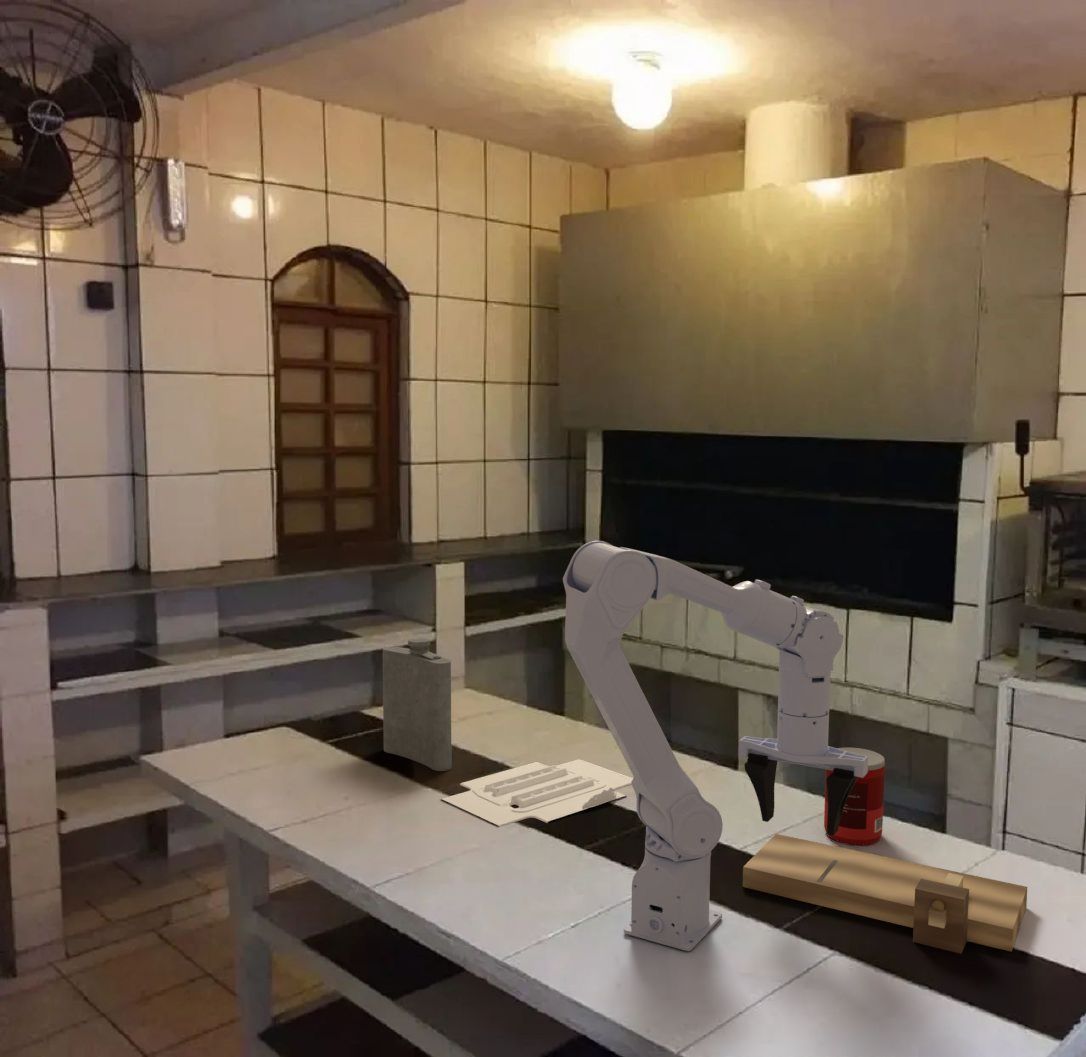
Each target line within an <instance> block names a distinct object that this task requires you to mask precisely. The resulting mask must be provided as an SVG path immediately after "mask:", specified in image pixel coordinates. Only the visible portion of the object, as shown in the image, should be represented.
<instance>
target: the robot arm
mask: <svg viewBox="0 0 1086 1057" xmlns="http://www.w3.org/2000/svg"><path fill="white" fill-rule="evenodd" d="M562 582H563V586H564V590H565V595H566V597H565V602H566V603H565V622H564V623H565V624H564V625H565V626H564V641H565V642H564V643H565V644H566V648H567V650H568V652H569V654H570V656H571V657H572V659H573V662H574V664H575V665H576V667H577V670H578V672H579V673H580V675H581V678H582V679H583V680H584V682H585V685H586V687H587V689H588V691H589V693H590V695H591V696H592V699H593V701H594V702H595V704H596V706H597V709H598V710H599V712H600V714H601V716H602V718H603V719H604V722H605V723H606V726H607V728H608V730H609V731H610V733H611V735H612V737H613V739H614V741H615V743H616V745H617V747H618V749H619V751H620V753H621V754H622V756H623V759H624V761H625V763H626V764H627V767H628V769H629V771H630V772H631V774H632V776H633V777H632V778H633V780H632V781H631V784H632V785H631V786H632V788H633V790H634V792H635V799H636V804H635V805H636V807H635V808H636V812H637V816H638V819H640V821H641V822H642V823H643V825H645V840H644V845H645V846H644V857H643V861H642V863H641V865H640V867H639V868H638V869H637V870H636V872H635V873H634V875H633V878H632V882H631V913H630V914H631V917H630V918H631V921H630V922H629V923H628V924H627V925H626V926H625V927H624V928H623V933H624V934H626V935H628V936H633V937H635V938H640V939H643V940H646V941H650V942H653V943H656V944H659V945H660V944H661V945H664V946H669V947H670V948H674V949H678V950H682V951H685V952H690V951H692V950H693V949H694V948H695V947H696V946H697V945H698V944H699V943H700V942H701V941H702V939H703V938H704V937H705V936H706V935H707V934H708V933H709V932H710V931H711V930H712V929H713V927H715V925H717V924H718V922H719V921H720V920H721V919H722V918H723V914H722V912H721V911H716V910H712V909H710V896H711V895H710V890H711V889H710V887H711V884H710V883H711V856H712V850H713V849H715V847H716V846H717V844H718V843H719V841H720V840H721V837H722V833H723V827H724V826H723V819H722V815H721V813H720V811H719V810H718V808H717V807H716V806H715V805H713V804H712V803H710V802H709V801H707V800H706V799H704V797H703V796H702V794H701V793H700V790H699V788H698V787H697V785H696V784H695V783H694V782H693V781H692V779H691V777H689V774H687V773H686V771H684V769H683V767H682V766H681V764H679V761H678V759H677V758H676V756H675V754H674V751H673V749H672V747H671V746H670V743H669V742H668V739H667V737H666V736H665V733H664V731H663V730H662V727H661V726H660V724H659V721H658V720H657V718H656V716H655V714H654V712H653V710H652V707H651V705H650V704H649V702H648V700H647V698H646V695H645V694H644V692H643V689H642V688H641V685H640V683H639V682H638V680H637V678H636V675H635V674H634V672H633V670H632V667H631V665H630V664H629V662H628V660H627V658H626V656H625V654H624V652H623V650H622V647H621V645H620V643H621V640H622V638H623V636H624V633H625V631H626V630H627V628H628V627H629V626H630V625H631V623H632V622H633V621H634V620H635V618H636V617H637V616H638V615H639V613H641V611H642V610H643V608H644V607H645V606H646V605H647V604H648V602H649V601H650V599H651V600H654V601H660V600H662V599H663V598H665V597H667V596H669V595H673V596H676V597H678V598H681V599H684V600H686V601H690V602H691V603H695V604H697V605H700V606H703V607H706V608H708V609H710V610H714V611H717V612H719V613H721V616H722V619H723V621H724V624H725V625H726V627H727V629H729V630H732V631H734V632H736V633H739V634H741V635H743V636H746V637H749V638H751V639H754V640H757V641H758V642H759V641H760V642H761V643H763V644H766V645H769V646H772V647H774V648H776V649H777V650H778V652H779V658H778V661H779V663H778V695H777V696H778V698H777V725H776V726H777V727H776V728H777V729H776V730H777V731H776V738H770V737H769V738H768V737H767V738H766V737H755V736H748V735H746V736H745V735H744V736H743V737H742V738H740V739H739V741H738V743H739V744H738V756H739V757H743V758H747V760H746V762H745V763H744V766H743V767H744V771H745V773H746V775H747V777H748V778H749V780H750V783H751V784H752V787H753V789H754V791H755V792H754V793H755V795H756V797H757V801H758V805H759V809H760V814H761V815H760V816H761V819H762V822H766V823H768V822H769V821H771V820H772V818H773V817H774V816H775V815H774V814H775V783H776V775H777V767H778V762H783V763H789V764H793V765H794V764H795V765H801V766H804V767H805V766H806V767H810V768H811V767H812V768H817V769H823V770H826V769H828V770H833V773H832V774H830V775H829V776H828V777H827V780H826V782H827V790H828V820H827V834H828V835H834V834H835V833H836V832H837V831H838V828H839V822H840V818H841V814H842V811H843V808H844V805H845V803H846V800H847V798H848V796H849V794H850V791H851V790H852V788H853V786H854V784H855V782H856V780H857V779H858V777H862V778H863V777H864V776H865V775H866V774H867V773H868V756H863V755H858V754H854V753H851V752H847V751H844V750H840V749H837V747H833V746H829V727H830V725H829V724H830V723H829V722H830V697H831V696H830V695H831V694H830V693H831V672H833V670H834V669H833V668H834V660H835V657H836V656H837V654H838V653H839V651H840V650H841V647H842V645H843V642H844V634H842V633H840V628H839V624H838V622H837V620H834V619H835V617H834V616H832V615H831V614H830V613H828V612H826V611H825V610H824V611H823V610H820V609H817V608H813V607H811V606H810V607H809V606H807V605H804V599H803V598H800V597H798V596H796V595H792V596H790V597H789V596H788V597H787V596H785V595H783V594H782V593H778V592H776V591H773V590H771V586H772V585H771V584H770V583H768V582H766V581H764V580H760V579H755V580H754V582H753V581H749V580H746V581H742V582H739V583H737V584H735V585H734V586H731V585H729V584H726V583H724V582H722V581H721V580H718V579H715V578H713V577H711V576H709V575H707V574H704V573H702V572H701V571H698V570H696V569H693V568H691V567H689V566H687V565H685V564H683V563H681V562H678V561H676V560H675V559H671V558H668V557H665V556H660V555H658V554H654V553H649V552H645V551H641V550H637V549H633V548H628V547H623V546H620V547H617V546H614V545H612V544H611V543H609V542H606V541H603V540H593V541H589V542H586V543H585V544H583V545H581V546H580V547H579V548H578V549H577V550H576V551H575V552H574V553H573V556H571V559H570V562H569V564H568V566H567V568H566V570H565V573H564V575H563V577H562ZM827 834H826V835H827ZM828 835H827V836H828Z"/></svg>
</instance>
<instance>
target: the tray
mask: <svg viewBox="0 0 1086 1057" xmlns="http://www.w3.org/2000/svg"><path fill="white" fill-rule="evenodd" d="M633 778H634V777H631V776H627V775H624V774H621V773H619V772H617V771H613V770H611V769H608V768H605V767H603V766H600V765H596V764H594V763H591V762H590V761H585V760H583V759H574V760H572V761H568V762H565V763H561V764H557V765H555V764H552V765H546V764H543V763H540V762H538V761H535V762H532V763H529V764H524V765H521V766H517V767H513V768H510V769H507V770H503V771H499V772H496V773H491V774H489V775H485V776H482V777H477V778H475V779H472V780H467V781H464V782H461V783H459V786H461V787H464V788H466V789H468V790H467V791H464V792H461V793H455V794H454V795H450V796H446V797H443V798H441V799H440V801H442V800H443V801H445V802H448V803H449V804H451V805H454V806H456V807H457V808H460V809H462V810H464V811H467V812H469V813H471V814H473V815H475V816H477V817H480V818H481V819H483V820H486V821H488V822H489V823H493V825H496V826H498V828H500V827H504V826H508V825H510V824H513V823H516V822H519V821H522V820H525V819H530V818H533V819H537V820H538V821H542V822H544V823H546V824H549V822H551V821H553V820H557V819H560V818H563V817H566V816H568V815H572V814H575V813H578V812H581V811H584V810H587V809H589V808H593V807H596V806H600V805H602V804H605V803H607V802H611V801H615V800H617V799H620V798H622V797H626V798H627V797H628V796H627V795H626V794H624V793H621V792H618V791H616V790H619V789H623V788H625V787H628V786H632V784H631V781H632V780H633ZM513 805H515V806H518V807H516V808H514V807H512V806H513ZM509 823H510V824H509ZM503 825H504V826H503Z"/></svg>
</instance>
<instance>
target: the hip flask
mask: <svg viewBox="0 0 1086 1057" xmlns="http://www.w3.org/2000/svg"><path fill="white" fill-rule="evenodd" d="M407 645H408V646H409V647H400V646H386V647H383V648H382V709H383V710H382V712H383V715H382V716H383V718H382V719H383V722H382V723H383V726H382V727H383V731H382V732H383V751H384V752H385V753H387V754H392V755H395V756H399V757H401V758H406V759H409V760H411V761H414V762H416V763H420V764H422V765H424V766H426V767H428V768H429V769H431V770H433V771H436V772H445V771H446V772H447V771H449V770H451V769H452V660H451V659H449V658H446V657H444V656H441V655H438V654H437V653H434V652H432V651H430V647H429V646H431V639H430V638H427V637H413V638H409V639H408V640H407Z"/></svg>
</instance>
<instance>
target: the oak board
mask: <svg viewBox="0 0 1086 1057" xmlns="http://www.w3.org/2000/svg"><path fill="white" fill-rule="evenodd" d="M948 873H952V874H957V875H962V876H963V888H967V889H969V904H968V925H967V942H970V943H974V944H978V945H981V946H982V945H983V946H986V947H991V948H994V949H999V950H1004V951H1007V952H1013V949H1014V946H1015V943H1016V941H1017V937H1018V934H1019V930H1020V928H1021V926H1022V921H1023V919H1024V915H1025V913H1026V910H1027V902H1028V886H1025V885H1021V884H1016V883H1010V882H1008V881H1007V882H1006V881H1002V880H997V879H992V878H987V877H983V876H978V875H974V874H968V873H963V872H961V871H960V872H958V871H954V870H950V869H944V868H940V867H935V866H931V865H926V864H921V863H916V862H911V861H907V860H902V859H897V858H892V857H889V856H882V855H879V854H873V853H869V852H865V851H860V850H859V851H858V850H855V849H849V848H845V847H840V846H835V845H831V844H827V843H822V842H817V841H811V840H807V839H802V838H797V837H793V836H787V835H785V834H779V833H775V834H774V835H773V836H772V837H771V838H770V839H769V840H768V841H767V842H766V843H765V844H764V845H763V846H762V847H761V849H760V850H758V851H757V852H756V853H755V854H754V855H753V856H752V858H750V859H749V861H747V862H746V864H744V865H743V867H742V887H743V888H747V889H751V890H754V891H758V892H759V891H760V892H762V893H766V894H767V893H768V894H771V895H774V896H775V895H776V896H779V897H783V898H788V899H792V900H795V901H799V902H804V903H809V904H812V905H817V906H821V907H826V908H829V909H832V910H833V909H834V910H837V911H842V912H846V913H850V914H854V915H858V916H863V917H866V918H871V919H874V920H879V921H882V922H883V921H884V922H887V923H891V924H895V925H899V926H903V927H908V928H912V929H913V926H914V903H915V888H916V886H917V885H918V883H919V881H920V879H926V880H930V881H935V882H939V883H944V881H945V879H946V877H947V875H948Z"/></svg>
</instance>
